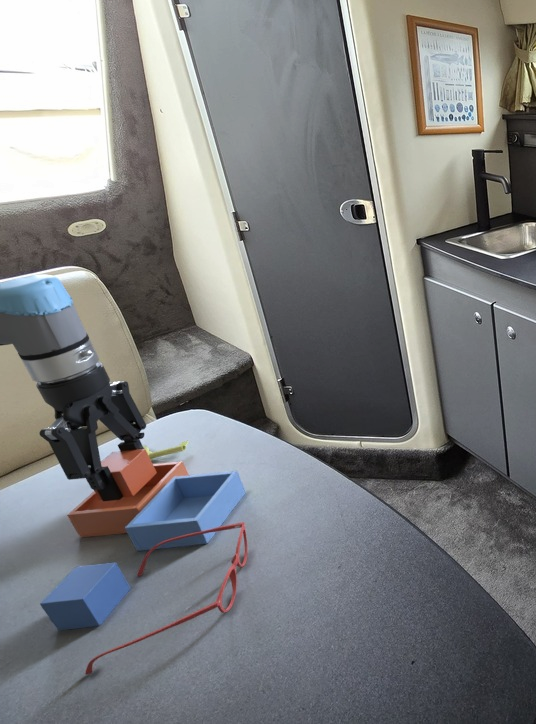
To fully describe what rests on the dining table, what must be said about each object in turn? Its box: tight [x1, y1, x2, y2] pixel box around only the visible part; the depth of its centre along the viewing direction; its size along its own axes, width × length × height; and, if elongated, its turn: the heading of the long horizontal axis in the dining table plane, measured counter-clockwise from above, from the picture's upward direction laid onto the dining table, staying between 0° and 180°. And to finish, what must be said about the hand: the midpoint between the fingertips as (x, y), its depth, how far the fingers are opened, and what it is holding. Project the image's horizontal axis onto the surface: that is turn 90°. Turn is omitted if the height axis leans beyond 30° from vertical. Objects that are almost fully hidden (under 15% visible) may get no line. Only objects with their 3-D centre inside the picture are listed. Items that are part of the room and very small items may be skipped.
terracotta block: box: [93, 449, 157, 500], centre depth 85 cm, size 6×6×6 cm
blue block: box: [39, 562, 132, 631], centre depth 70 cm, size 6×6×6 cm
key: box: [142, 440, 190, 461], centre depth 100 cm, size 7×12×2 cm, turn 122°
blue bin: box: [125, 470, 247, 552], centre depth 84 cm, size 11×11×5 cm
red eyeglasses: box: [84, 521, 248, 675], centre depth 71 cm, size 17×16×5 cm
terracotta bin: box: [66, 461, 190, 538], centre depth 87 cm, size 11×11×5 cm
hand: (127, 484), depth 86 cm, fingers closed on terracotta block, 5 cm apart
